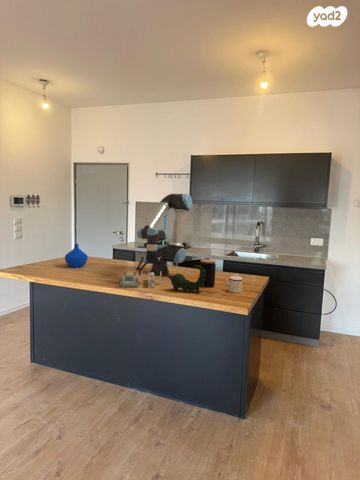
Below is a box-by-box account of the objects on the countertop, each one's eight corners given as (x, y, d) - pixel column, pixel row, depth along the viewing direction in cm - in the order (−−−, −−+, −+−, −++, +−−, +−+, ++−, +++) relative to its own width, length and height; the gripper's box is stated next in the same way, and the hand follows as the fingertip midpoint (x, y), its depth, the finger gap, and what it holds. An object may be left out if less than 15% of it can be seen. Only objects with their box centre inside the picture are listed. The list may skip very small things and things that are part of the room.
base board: (138, 279, 241) (138, 277, 241) (137, 287, 219) (138, 285, 219) (121, 279, 240) (121, 277, 239) (119, 287, 218) (119, 285, 218)
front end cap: (135, 284, 222) (135, 276, 222) (135, 285, 219) (135, 277, 219) (122, 284, 221) (122, 276, 221) (122, 285, 218) (122, 277, 218)
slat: (153, 280, 242) (153, 272, 242) (154, 288, 221) (154, 279, 220) (147, 280, 242) (148, 272, 241) (148, 288, 220) (148, 279, 220)
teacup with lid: (243, 290, 223) (244, 273, 222) (240, 293, 215) (241, 276, 214) (225, 288, 228) (226, 271, 226) (222, 291, 219) (223, 274, 218)
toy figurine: (203, 293, 219) (167, 286, 223) (207, 265, 217) (170, 259, 221) (202, 297, 210) (163, 290, 214) (206, 268, 208) (167, 261, 211)
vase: (65, 264, 286) (65, 242, 284) (87, 264, 291) (87, 242, 289) (64, 268, 268) (64, 245, 266) (87, 268, 274) (88, 245, 272)
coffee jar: (205, 283, 240) (206, 258, 238) (217, 286, 233) (218, 260, 231) (196, 285, 231) (197, 260, 229) (208, 288, 225) (210, 262, 223)
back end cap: (135, 278, 240) (135, 270, 240) (135, 279, 237) (135, 271, 237) (123, 277, 239) (123, 270, 238) (123, 278, 236) (123, 271, 236)
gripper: (169, 250, 234) (168, 279, 236) (133, 248, 231) (132, 278, 233) (170, 251, 226) (169, 281, 229) (133, 250, 223) (132, 281, 225)
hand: (150, 280), depth 231 cm, fingers open, 13 cm apart
